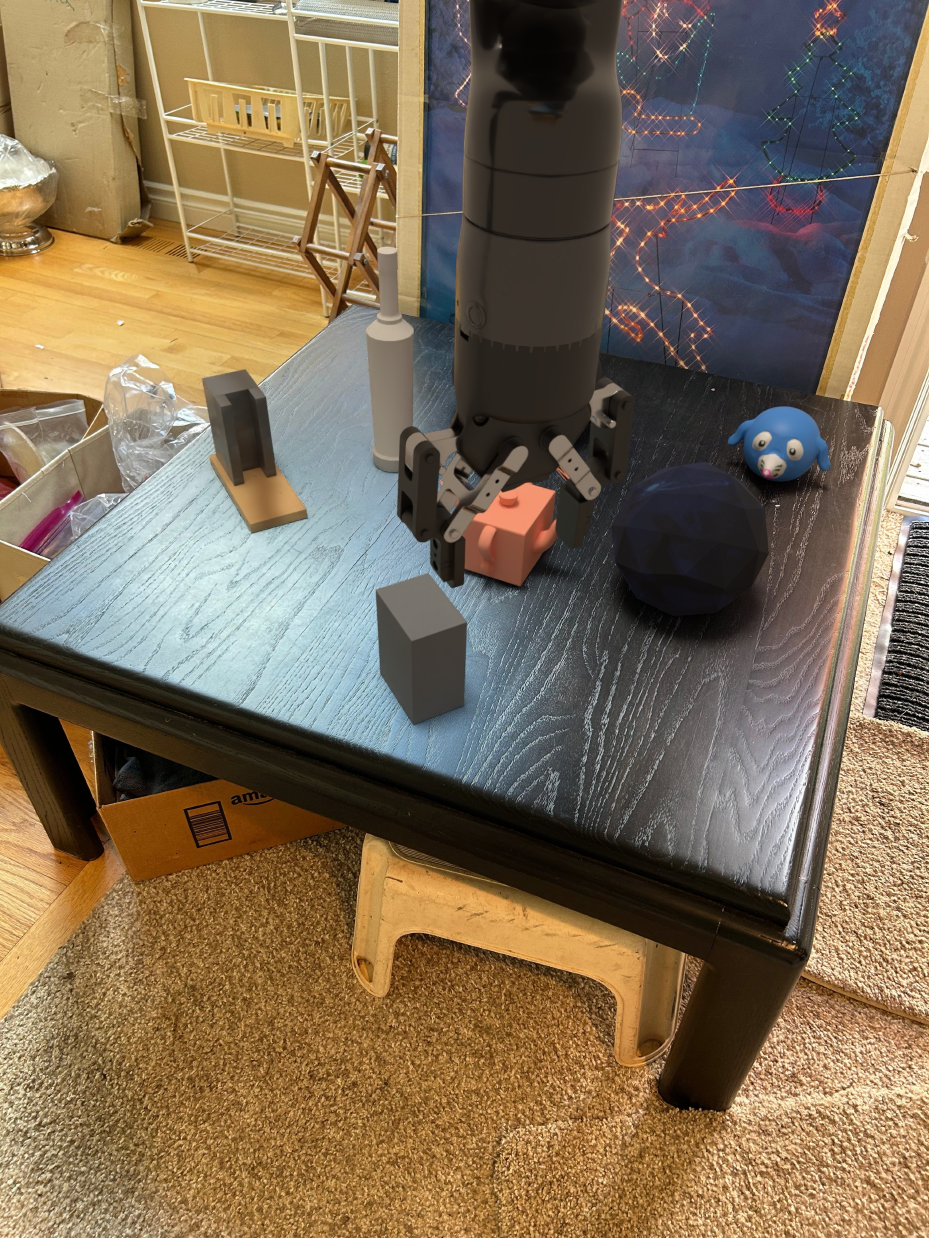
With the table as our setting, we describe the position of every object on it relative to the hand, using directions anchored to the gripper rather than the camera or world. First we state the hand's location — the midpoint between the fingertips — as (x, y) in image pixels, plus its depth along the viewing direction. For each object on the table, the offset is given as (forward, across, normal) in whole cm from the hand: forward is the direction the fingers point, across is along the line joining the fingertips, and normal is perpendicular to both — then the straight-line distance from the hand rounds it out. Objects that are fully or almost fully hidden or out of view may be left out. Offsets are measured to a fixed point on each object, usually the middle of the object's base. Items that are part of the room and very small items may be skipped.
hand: (510, 559), depth 56 cm
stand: (+24, +3, -49) cm, 55 cm away
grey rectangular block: (+24, 0, -13) cm, 27 cm away
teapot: (+24, -16, -26) cm, 39 cm away
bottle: (+24, -14, -48) cm, 55 cm away
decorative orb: (+24, -29, -13) cm, 40 cm away
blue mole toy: (+24, -52, -24) cm, 62 cm away
